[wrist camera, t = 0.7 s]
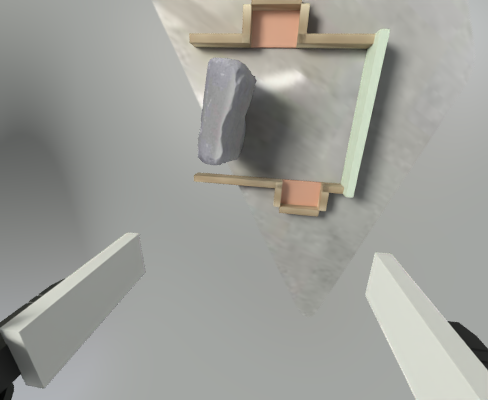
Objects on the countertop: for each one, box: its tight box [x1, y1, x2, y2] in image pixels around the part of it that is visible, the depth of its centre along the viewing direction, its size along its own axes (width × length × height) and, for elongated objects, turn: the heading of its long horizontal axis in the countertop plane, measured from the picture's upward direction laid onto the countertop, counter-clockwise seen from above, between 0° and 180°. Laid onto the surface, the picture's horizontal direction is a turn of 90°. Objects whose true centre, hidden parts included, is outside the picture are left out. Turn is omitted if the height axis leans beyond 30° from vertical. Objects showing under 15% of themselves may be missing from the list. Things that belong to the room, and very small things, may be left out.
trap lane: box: [189, 0, 390, 216], centre depth 32 cm, size 28×24×4 cm
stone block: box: [198, 58, 257, 165], centre depth 29 cm, size 12×5×10 cm, turn 166°
